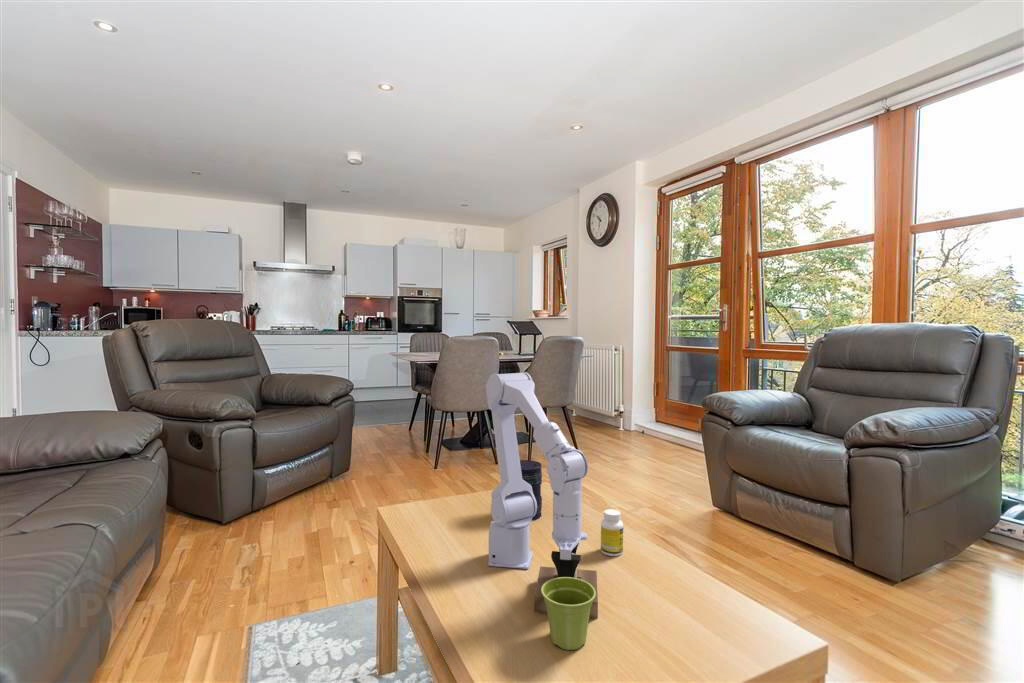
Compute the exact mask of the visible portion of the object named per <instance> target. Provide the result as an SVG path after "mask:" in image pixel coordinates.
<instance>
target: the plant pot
mask: <svg viewBox="0 0 1024 683" xmlns="http://www.w3.org/2000/svg"><path fill="white" fill-rule="evenodd" d="M541 593H542V595H543V597H544V601H545V603H546V607H547V613H548V614H547V618H548V620H547V621H548V628H549V633H550V640H551V642H552V643H553V645H557V646H558V647H560V649H563V650H568V651H569V650H571V651H574V650H579V649H581V647H583V645H585V644H586V641H587V635H588V627H589V621H590V620H589V619H590V617H589V614H590V607H591V605H592V602H593V600H594V598H595V595H596V592H595V589H594V587H593V586H592V585H591V584H589V583H588V582H586V581H584V580H581V579H578V578H572V577H558V578H554V579H551V580H549V581H547V582H545V583H544V584H543V586H542V588H541Z"/></svg>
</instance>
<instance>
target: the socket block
mask: <svg viewBox="0 0 1024 683" xmlns="http://www.w3.org/2000/svg"><path fill="white" fill-rule="evenodd" d="M597 573H598V572H597V570H590V569H579V568H577V578H578V579H581V580H584V581H586V582H588V583H589V584H591V585H592V586H593V587H594V589H595V592H596V595H595V598H594V600H593V602H592V605H591V607H590V614H589V619H590V618H593V619H599V615H598V614H599V600H598V599H599V595H598V594H599V593H598V575H597ZM554 578H558V573H557V569H556V567H554V566H553V567H552V566H542V565H541V566H540V567H539V572H538V576H537V582H536V586H535V591H534V595H533V597H534V598H533V604H534V605H533V609H534V610H533V611H534V612H533V613H536V614H537V613H539V614H547V615H548V613H547V607H546V603H545V601H544V597H543V595H542V593H541V588H542V586H543V584H544V583H545V582H547V581H549V580H551V579H554Z"/></svg>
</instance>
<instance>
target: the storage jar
mask: <svg viewBox="0 0 1024 683" xmlns="http://www.w3.org/2000/svg"><path fill="white" fill-rule="evenodd" d="M520 466H521V473H522V479H523V480H524V481H525V482H527V483H528V484H530V485H531V486H532V491H533V494H534V497H535V499H536V502H537V511H536V514H535V516H534V517H532V522H534V521H537V519H538V520H539V519H540V517H541V518H542V508H543V498H542V491H541V490H542V487H541V486H542V483H543V479H542V478H543V473H542V463H541V462H539V461H537V460H528V459H527V460H526V459H522V460H521V459H520ZM516 493H520V492H516ZM512 494H515V493H512ZM509 495H511V494H509Z"/></svg>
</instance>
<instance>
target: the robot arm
mask: <svg viewBox="0 0 1024 683" xmlns="http://www.w3.org/2000/svg"><path fill="white" fill-rule="evenodd" d="M535 390H536V386H535V382H534V380H533V378H532V377H531V375H530V374H529V373H528V372H527V371H522V372H515V373H514V372H513V373H492V374H490V376H489V377H488V379H487V382H486V384H485V392H486V402H487V405H488V406H487V407H488V410H490V411H491V416H492V424H493V432H494V433H493V434H494V440H495V441H494V442H495V449H496V455H497V463H498V472H499V479H500V482H499V483H498V484H497V485H496V486H495V488H493V490H492V491H491V493H490V494H491V503H490V514H491V517H492V520H491V522H490V525H489V527H488V528H489V529H488V562H487V566H489V567H499V568H513V569H523V570H524V569H525V570H528V569H530V566H531V562H532V557H533V551H532V550H530V524H531V523H532V522H533V521H532V517H534V516H535V514H536V511H537V502H536V499H535V497H534V494H533V491H532V486H531V485H530V484H528V483H527V482H525V481H524V480H523V479H522V473H521V466H520V460H521V459H520V452H519V444H518V438H517V429H516V423H515V422H516V421H515V415H514V414H515V412H516V409H517V408H519V409H520V411H521V412H522V413H523V415H524V417H525V418H526V419H527V420H528V422H529V423H530V425H531V426H532V428H533V429H534V431H533V432H534V433H533V439H534V441H535V442H536V444H537V446H538V447H539V449H540V451H541V453H542V454H543V456H544V457H545V458H544V459H546V462H547V465H546V472H547V476H548V478H549V483H550V484H549V485H550V489H551V490H552V532H551V539H553V541H554V543H555V544H556V546H557V548H558V550H559V551H557V550H556V551H555V550H552V551H551V556H550V557H551V561H552V562H553V564H554V566H555V568H556V569H557V573H558V577H572V578H574V575H575V571H576V568H577V569H578V566H579V564H580V562H581V559H582V555H581V554H577V551H578V547H579V544H580V542H581V541H587V540H588V533H587V532H583V531H582V479H583V478H585V477H586V475H587V474H588V470H589V468H588V466H589V465H588V461H587V458H586V457H585V454H584V452H583V451H581V450H579V449H576V447H575V446H572V445H571V444H570V443H569V441H568V439H567V438H566V436H565V435H564V434H563V432H562V429H561V428H560V427H559V425H558V424H557V423H556V422H554V421H553V422H552V421H549V419H548V417H547V415H546V413H545V411H544V409H543V407H542V405H541V404H540V402H539V401H538V398H537V396H536V394H535ZM516 492H520V493H516ZM512 493H515V494H512ZM510 494H511V495H510ZM572 553H574V554H576V555H574V554H572Z"/></svg>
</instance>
